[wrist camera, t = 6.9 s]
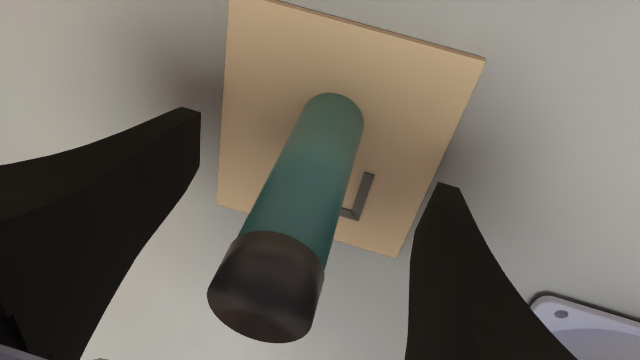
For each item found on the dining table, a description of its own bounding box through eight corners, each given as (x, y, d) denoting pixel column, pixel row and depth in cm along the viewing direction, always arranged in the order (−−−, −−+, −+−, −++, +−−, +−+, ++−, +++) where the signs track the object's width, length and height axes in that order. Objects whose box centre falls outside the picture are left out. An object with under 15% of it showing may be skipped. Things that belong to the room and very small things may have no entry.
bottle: (372, 102, 15) (322, 293, 9) (356, 157, 16) (302, 354, 10) (306, 83, 15) (209, 258, 9) (295, 139, 16) (205, 324, 10)
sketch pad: (485, 58, 14) (486, 63, 13) (396, 253, 19) (395, 260, 19) (233, -12, 14) (228, -9, 14) (219, 199, 20) (215, 205, 19)
